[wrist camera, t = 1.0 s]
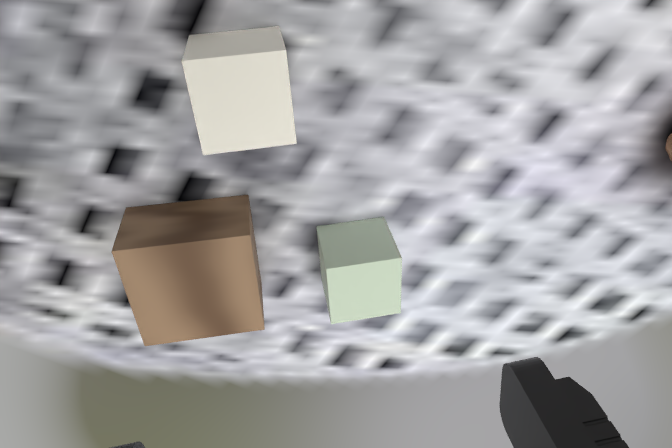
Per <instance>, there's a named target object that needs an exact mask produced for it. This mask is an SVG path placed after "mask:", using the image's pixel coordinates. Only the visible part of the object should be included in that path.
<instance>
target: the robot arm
mask: <svg viewBox="0 0 672 448" xmlns="http://www.w3.org/2000/svg"><path fill="white" fill-rule="evenodd" d="M500 413H501V417H502V421H503V424H504V427H505V430H506V432H507V434H508V436H509V439H510V441H511V443H512V445H513V447H514V448H629V447H628V445H627V444H626V443H625V441H624V440H622V439H621V437H620V434H619V433H618V431H617V430H616V428H615V427H614V425H613V424H612V423H611V421H609V420H608V418H607V415H606V414H605V412H604V411H603V410H602V408H601V407H600V405H599V404H598V402H597V401H596V400H595V398H594V397H593V395H592V394H591V393H590V392H588V391H587V390H586V389H584V388H583V387H582V386H580V385H579V384H578V383H577V382H575V381H574V380H573V379H571V378H570V377H566V378H561V379H556V380H555V379H554V378H553V376H552V374H551V373H550V371H549V370H548V368H547V367H546V365H545V364H544V362H543V361H542V360H541V359H540V358H538V357H534V358H529V359H525V360H520V361H515V362H511V363H506V364H504V365H503V368H502V381H501V394H500ZM111 448H145V447H144V445H143V444H142V443H141V442H134V443H130V444H125V445H120V446H116V447H111Z"/></svg>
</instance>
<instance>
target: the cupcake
mask: <svg viewBox="0 0 672 448" xmlns="http://www.w3.org/2000/svg"><path fill="white" fill-rule="evenodd" d="M665 149H666V151H667V153H668V155H669V157H670V160H671V161H672V133H671V134H670V135H669V136H668V138H667V140H666V146H665Z"/></svg>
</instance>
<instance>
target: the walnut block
mask: <svg viewBox="0 0 672 448" xmlns="http://www.w3.org/2000/svg"><path fill="white" fill-rule="evenodd" d="M112 254H113V257H114V260H115V262H116V265H117V268H118V271H119V274H120V277H121V280H122V282H123V285H124V288H125V291H126V294H127V297H128V299H129V302H130V305H131V308H132V311H133V314H134V317H135V319H136V322H137V325H138V328H139V331H140V334H141V337H142V339H143V342H144V345H145V346H149V345H157V344H164V343H171V342H178V341H185V340H192V339H200V338H207V337H214V336H221V335H228V334H235V333H242V332H250V331H257V330H264V314H263V299H262V284H261V277H260V270H259V264H258V257H257V250H256V243H255V236H254V230H253V223H252V216H251V209H250V202H249V196H248V195H240V196H231V197H222V198H212V199H203V200H194V201H184V202H175V203H166V204H156V205H147V206H138V207H128V208H126V209H125V212H124V215H123V218H122V221H121V225H120V228H119V231H118V234H117V237H116V240H115V243H114V246H113V249H112Z"/></svg>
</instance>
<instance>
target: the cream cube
mask: <svg viewBox="0 0 672 448" xmlns="http://www.w3.org/2000/svg"><path fill="white" fill-rule="evenodd" d="M182 65H183V70H184V74H185V78H186V83H187V87H188V91H189V96H190V100H191V104H192V109H193V113H194V117H195V122H196V126H197V130H198V135H199V139H200V143H201V148H202V152H203V155H209V154H217V153H225V152H234V151H242V150H250V149H258V148H266V147H274V146H282V145H290V144H297V143H296V134H295V125H294V116H293V107H292V98H291V89H290V81H289V72H288V63H287V54H286V48H285V45H284V41H283V38H282V34H281V31H280V27H279V26H274V27H264V28H254V29H245V30H235V31H225V32H215V33H205V34H195V35H189V38H188V41H187V44H186V48H185V51H184V54H183V58H182Z"/></svg>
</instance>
